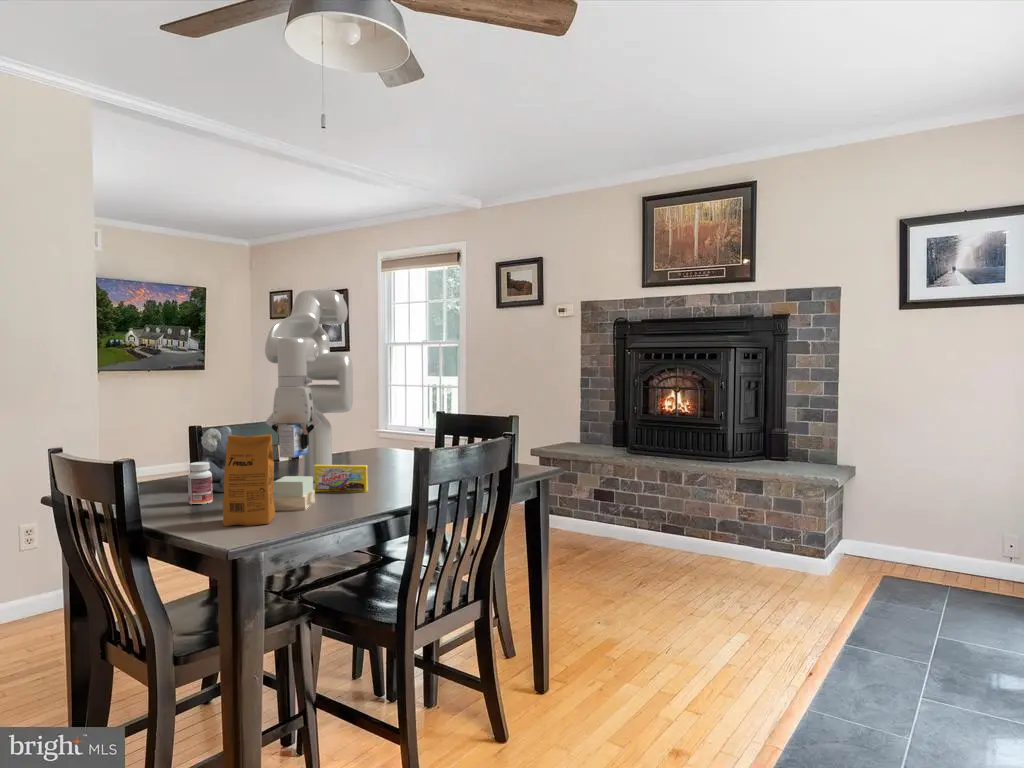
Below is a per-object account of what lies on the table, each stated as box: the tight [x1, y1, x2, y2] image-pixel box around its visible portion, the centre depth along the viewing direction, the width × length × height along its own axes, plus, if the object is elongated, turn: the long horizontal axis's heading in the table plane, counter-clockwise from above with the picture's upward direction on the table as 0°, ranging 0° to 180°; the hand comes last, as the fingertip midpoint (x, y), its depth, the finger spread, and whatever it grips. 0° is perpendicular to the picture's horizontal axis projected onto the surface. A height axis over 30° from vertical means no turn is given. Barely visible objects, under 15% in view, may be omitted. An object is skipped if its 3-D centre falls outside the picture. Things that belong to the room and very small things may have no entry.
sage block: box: [273, 475, 314, 497], centre depth 189 cm, size 8×8×4 cm
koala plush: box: [200, 425, 233, 493], centre depth 216 cm, size 17×18×20 cm
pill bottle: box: [187, 461, 214, 505], centre depth 194 cm, size 6×6×11 cm
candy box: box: [314, 464, 369, 493], centre depth 209 cm, size 16×2×8 cm, turn 86°
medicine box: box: [278, 424, 308, 459], centre depth 188 cm, size 8×4×9 cm, turn 169°
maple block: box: [273, 489, 316, 511], centre depth 189 cm, size 9×9×4 cm
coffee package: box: [222, 434, 276, 527], centre depth 172 cm, size 10×12×22 cm
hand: (293, 447), depth 189 cm, fingers closed on medicine box, 5 cm apart
